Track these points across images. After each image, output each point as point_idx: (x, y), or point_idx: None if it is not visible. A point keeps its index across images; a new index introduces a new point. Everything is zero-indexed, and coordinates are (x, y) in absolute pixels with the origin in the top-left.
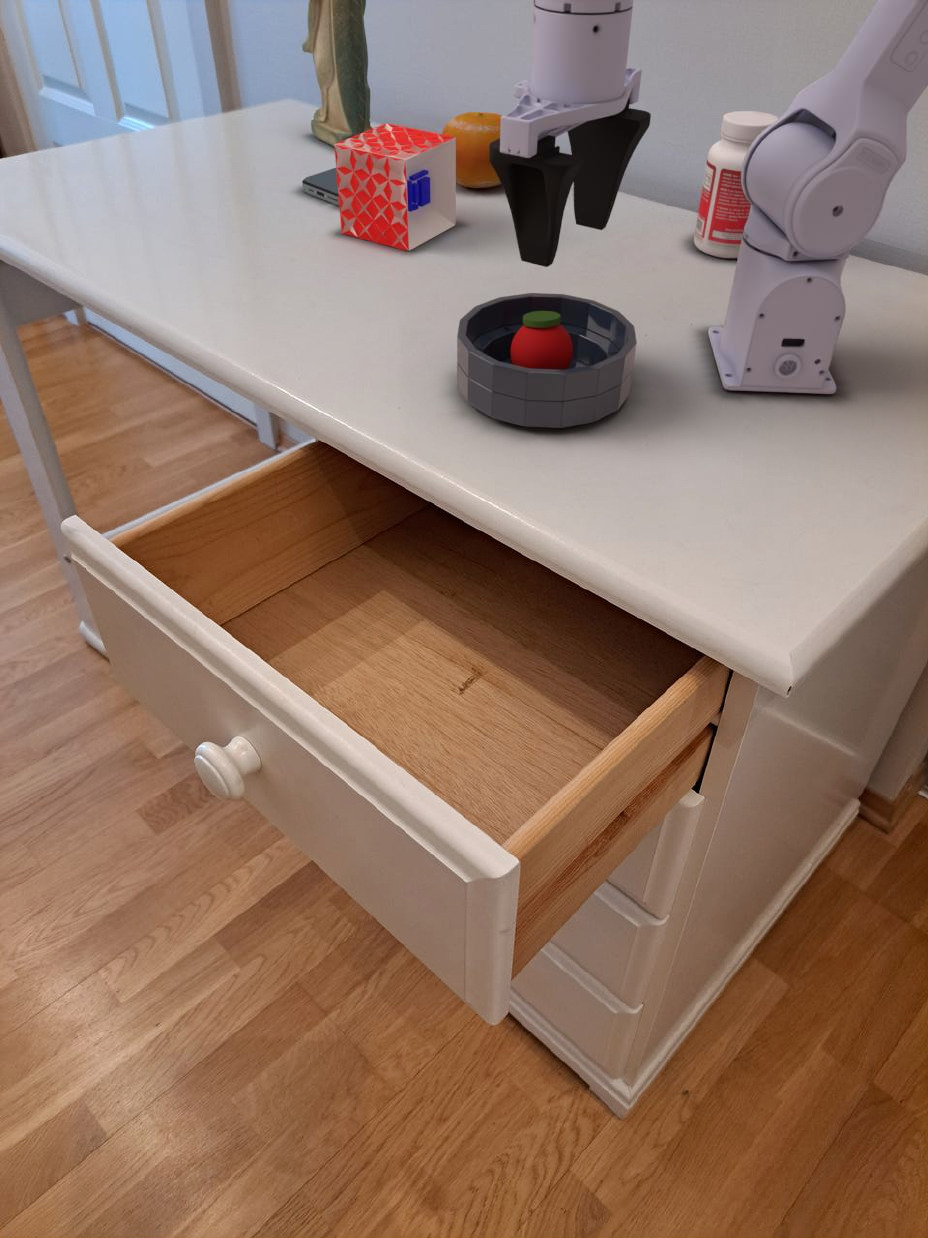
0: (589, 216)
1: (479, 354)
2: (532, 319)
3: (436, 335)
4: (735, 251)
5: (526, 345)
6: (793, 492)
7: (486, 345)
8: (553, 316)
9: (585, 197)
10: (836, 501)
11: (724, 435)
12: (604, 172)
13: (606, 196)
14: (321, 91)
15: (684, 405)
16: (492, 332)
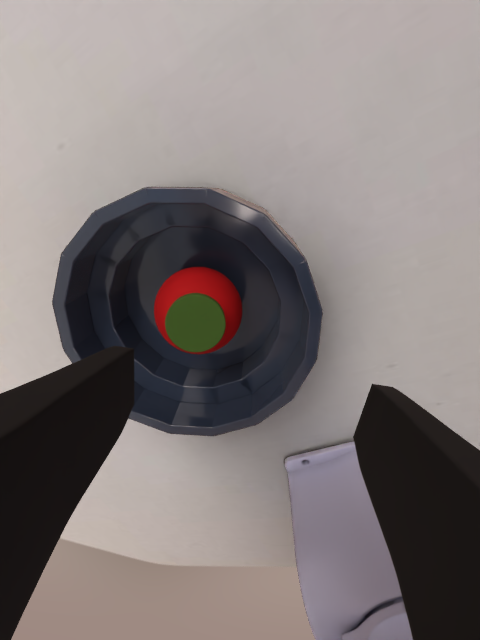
0: (371, 426)
1: (63, 272)
2: (170, 319)
3: (285, 75)
4: None
5: (155, 309)
6: (154, 511)
7: (186, 226)
8: (197, 343)
9: (393, 446)
10: (160, 531)
11: (207, 466)
12: (416, 558)
13: (381, 503)
14: None
15: (242, 431)
16: (228, 216)
